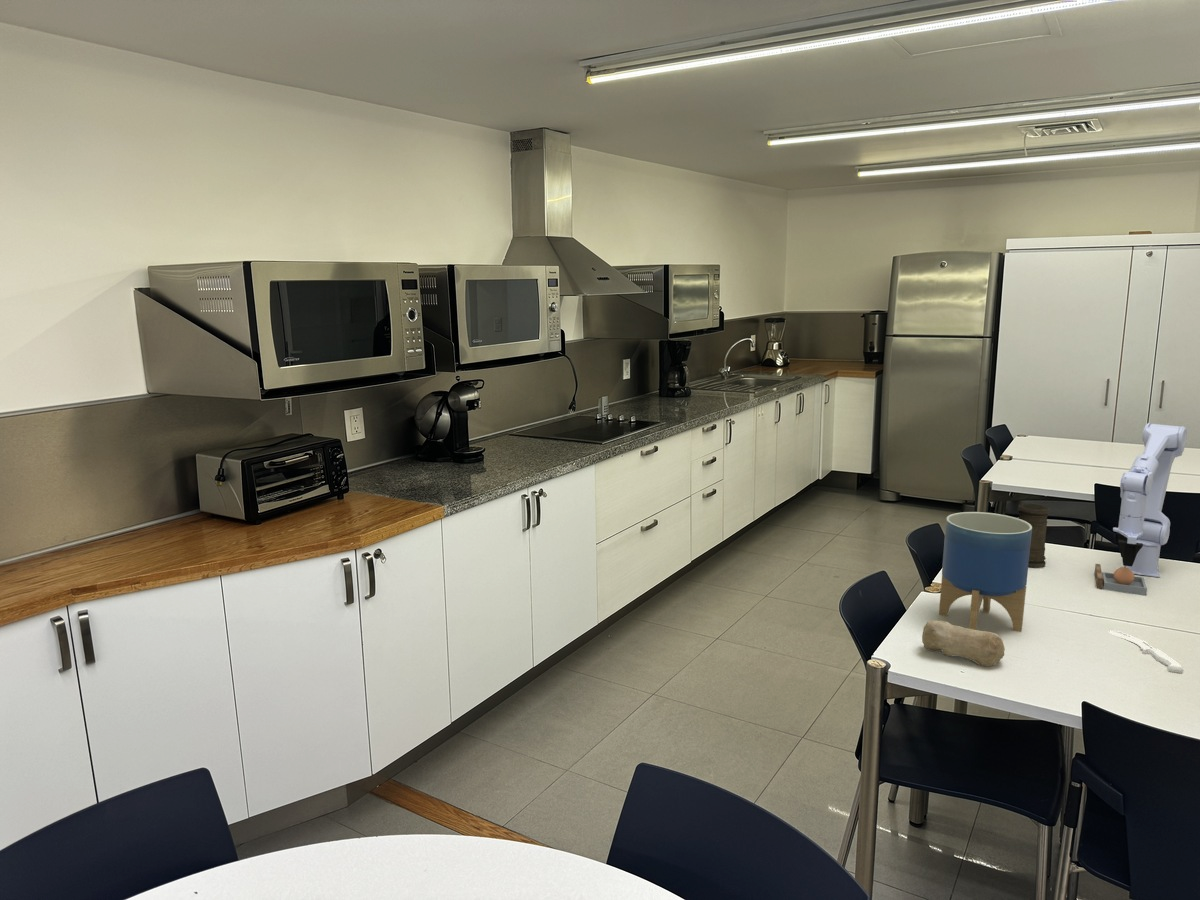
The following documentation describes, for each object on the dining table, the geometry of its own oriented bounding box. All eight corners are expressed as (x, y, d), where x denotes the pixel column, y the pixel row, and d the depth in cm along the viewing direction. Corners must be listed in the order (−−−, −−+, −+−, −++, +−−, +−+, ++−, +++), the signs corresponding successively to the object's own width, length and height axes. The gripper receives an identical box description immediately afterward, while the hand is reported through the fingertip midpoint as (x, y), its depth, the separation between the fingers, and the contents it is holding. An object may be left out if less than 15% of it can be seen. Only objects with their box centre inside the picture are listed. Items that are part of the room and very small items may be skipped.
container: (1050, 568, 246) (1056, 510, 242) (1020, 568, 246) (1026, 510, 243) (1035, 558, 255) (1041, 502, 251) (1006, 558, 255) (1011, 502, 251)
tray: (1101, 578, 237) (1102, 571, 237) (1142, 584, 233) (1143, 577, 232) (1103, 589, 229) (1104, 582, 228) (1146, 595, 224) (1147, 588, 224)
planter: (948, 602, 220) (955, 507, 215) (1027, 618, 209) (1037, 519, 204) (930, 626, 204) (937, 525, 199) (1014, 645, 193) (1025, 538, 188)
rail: (1094, 573, 241) (1095, 563, 241) (1099, 573, 241) (1100, 564, 240) (1096, 588, 229) (1098, 578, 229) (1101, 589, 229) (1103, 579, 228)
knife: (1084, 617, 209) (1116, 617, 208) (1083, 623, 209) (1116, 623, 208) (1147, 666, 179) (1185, 667, 178) (1147, 673, 180) (1185, 674, 179)
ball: (1112, 580, 234) (1114, 563, 233) (1132, 583, 231) (1134, 566, 230) (1112, 585, 230) (1114, 568, 229) (1133, 588, 227) (1135, 571, 226)
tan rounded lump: (928, 627, 197) (924, 607, 190) (1007, 641, 187) (1006, 621, 180) (921, 660, 192) (917, 640, 185) (1002, 676, 183) (1000, 656, 176)
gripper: (1113, 506, 235) (1108, 552, 237) (1117, 519, 222) (1111, 567, 225) (1142, 509, 231) (1136, 555, 234) (1148, 522, 219) (1141, 571, 221)
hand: (1126, 561), depth 229 cm, fingers open, 7 cm apart
